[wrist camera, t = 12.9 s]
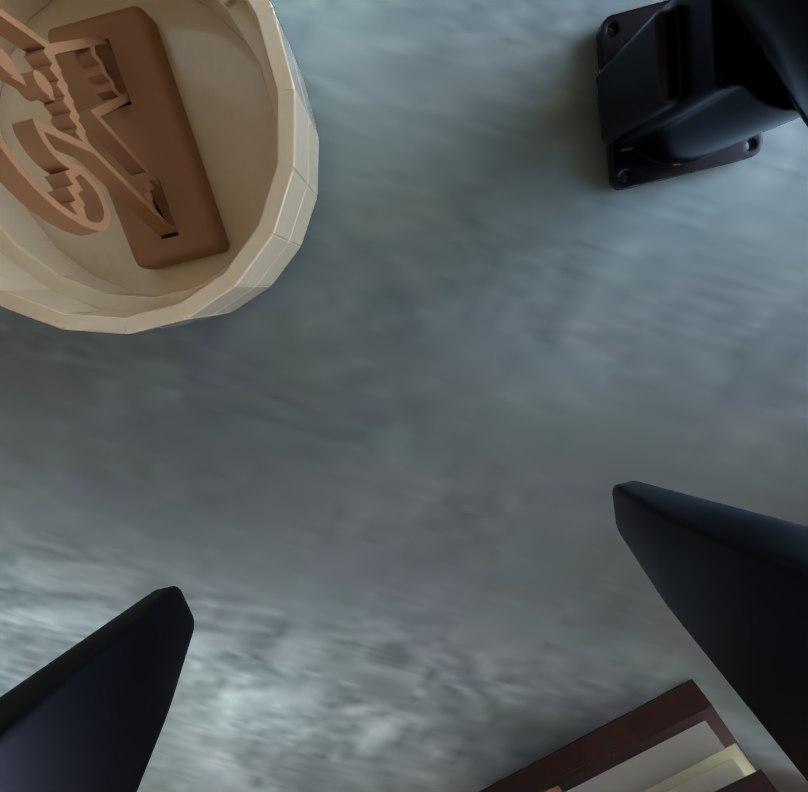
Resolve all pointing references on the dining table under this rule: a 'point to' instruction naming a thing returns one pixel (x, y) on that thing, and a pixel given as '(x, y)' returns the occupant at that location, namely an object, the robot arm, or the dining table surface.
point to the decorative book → (648, 754)
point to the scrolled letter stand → (111, 138)
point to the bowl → (222, 158)
